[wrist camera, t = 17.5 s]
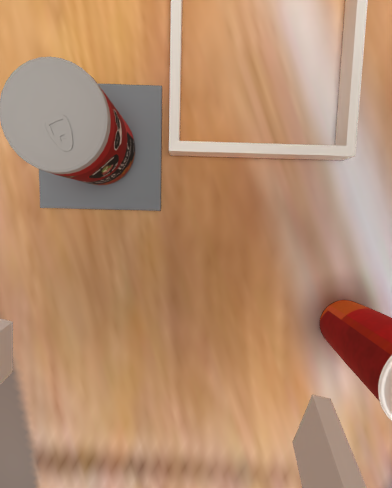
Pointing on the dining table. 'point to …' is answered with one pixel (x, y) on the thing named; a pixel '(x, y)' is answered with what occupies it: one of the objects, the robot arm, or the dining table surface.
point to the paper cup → (362, 345)
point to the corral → (339, 151)
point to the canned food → (65, 122)
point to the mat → (141, 171)
